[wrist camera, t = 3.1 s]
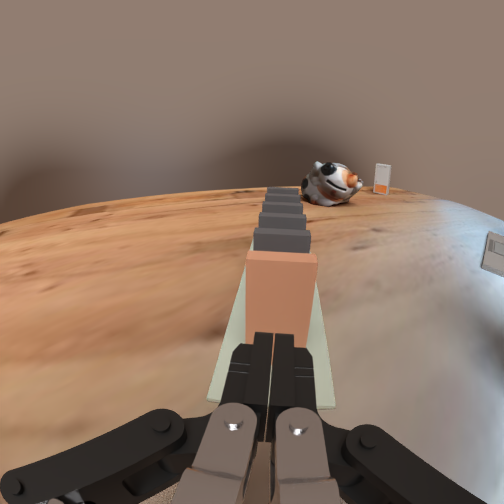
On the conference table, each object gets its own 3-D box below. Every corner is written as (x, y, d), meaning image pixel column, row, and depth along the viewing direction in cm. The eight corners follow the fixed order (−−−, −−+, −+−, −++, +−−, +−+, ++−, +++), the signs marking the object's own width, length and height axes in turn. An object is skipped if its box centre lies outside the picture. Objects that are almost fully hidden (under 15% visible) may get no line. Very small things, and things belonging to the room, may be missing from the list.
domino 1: (294, 248, 49) (298, 190, 45) (265, 246, 49) (267, 188, 45) (294, 244, 50) (298, 188, 46) (266, 243, 50) (267, 186, 47)
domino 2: (296, 261, 43) (300, 197, 40) (263, 260, 44) (265, 195, 40) (295, 257, 45) (299, 194, 41) (264, 255, 45) (265, 193, 42)
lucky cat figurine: (349, 199, 90) (368, 161, 78) (346, 224, 81) (368, 184, 69) (302, 180, 91) (316, 140, 79) (293, 203, 82) (310, 160, 71)
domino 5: (300, 328, 28) (311, 236, 24) (252, 325, 29) (253, 233, 25) (300, 319, 30) (309, 230, 26) (253, 317, 30) (255, 227, 26)
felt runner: (334, 408, 19) (335, 405, 19) (207, 400, 20) (206, 398, 20) (306, 239, 54) (306, 237, 54) (254, 236, 55) (254, 234, 55)
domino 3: (297, 278, 38) (303, 206, 35) (260, 276, 39) (262, 204, 35) (296, 273, 40) (302, 203, 36) (261, 271, 40) (263, 201, 36)
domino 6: (302, 366, 23) (317, 262, 19) (245, 362, 24) (245, 259, 20) (301, 354, 25) (315, 253, 21) (247, 351, 25) (248, 250, 21)
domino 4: (298, 300, 33) (306, 218, 30) (256, 298, 34) (258, 216, 30) (298, 293, 35) (305, 214, 31) (257, 291, 35) (260, 212, 31)
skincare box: (372, 192, 106) (375, 163, 101) (375, 191, 109) (377, 163, 104) (387, 195, 102) (390, 166, 98) (388, 194, 106) (391, 165, 101)
